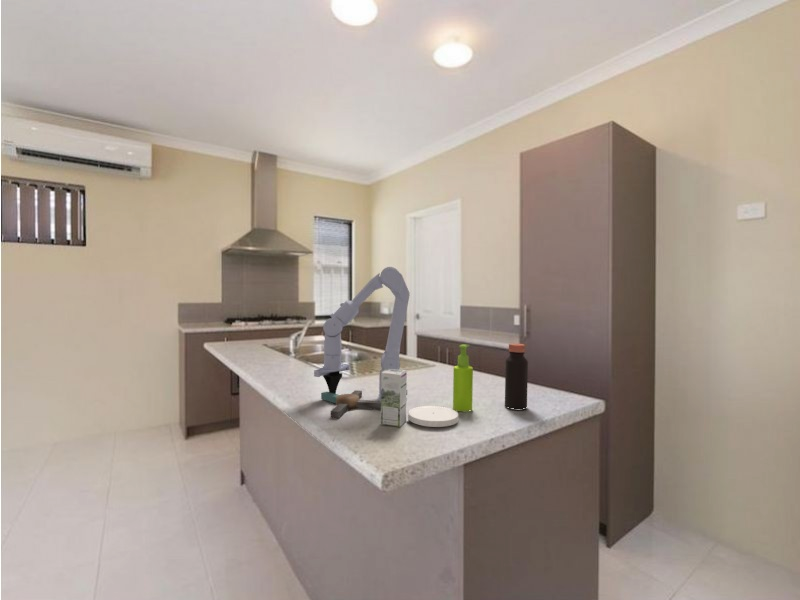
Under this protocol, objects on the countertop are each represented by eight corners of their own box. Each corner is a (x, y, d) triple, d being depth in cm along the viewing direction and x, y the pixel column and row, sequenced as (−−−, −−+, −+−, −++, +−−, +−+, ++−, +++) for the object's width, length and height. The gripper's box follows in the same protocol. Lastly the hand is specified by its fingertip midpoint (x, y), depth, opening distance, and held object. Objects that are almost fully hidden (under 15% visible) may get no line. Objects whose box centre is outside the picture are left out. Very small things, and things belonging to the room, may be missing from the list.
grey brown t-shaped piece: (392, 398, 133) (392, 389, 133) (376, 421, 110) (376, 410, 109) (348, 395, 136) (348, 387, 136) (323, 417, 112) (323, 407, 112)
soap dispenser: (475, 407, 124) (476, 344, 124) (469, 413, 118) (470, 346, 118) (457, 404, 127) (458, 342, 126) (450, 410, 121) (451, 345, 120)
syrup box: (406, 421, 110) (407, 369, 110) (399, 428, 105) (400, 373, 104) (387, 418, 112) (388, 367, 112) (379, 425, 106) (380, 371, 106)
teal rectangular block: (342, 402, 127) (342, 395, 127) (336, 403, 125) (336, 397, 125) (327, 397, 132) (327, 391, 132) (321, 398, 131) (321, 392, 130)
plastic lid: (419, 411, 120) (419, 403, 120) (464, 418, 114) (464, 410, 114) (399, 425, 107) (400, 416, 107) (448, 434, 101) (448, 424, 101)
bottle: (530, 407, 125) (532, 344, 124) (520, 412, 120) (522, 346, 119) (510, 403, 129) (512, 342, 129) (500, 407, 124) (501, 344, 124)
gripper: (339, 350, 139) (339, 388, 140) (307, 355, 128) (307, 397, 128) (354, 352, 135) (353, 391, 135) (322, 358, 123) (322, 401, 124)
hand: (332, 394), depth 131 cm, fingers closed
